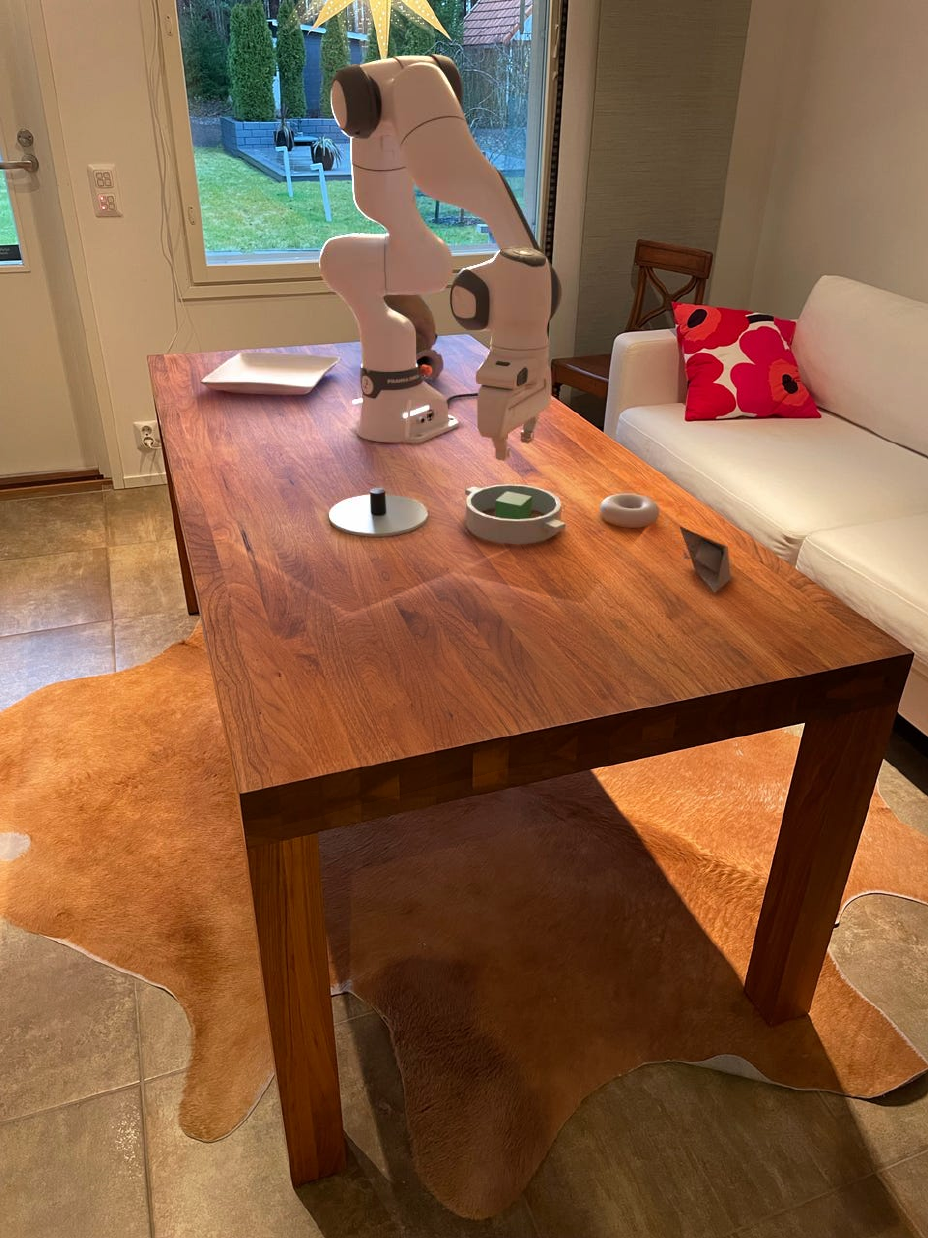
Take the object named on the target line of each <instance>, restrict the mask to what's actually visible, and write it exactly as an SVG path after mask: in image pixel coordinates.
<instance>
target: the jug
mask: <svg viewBox="0 0 928 1238" xmlns="http://www.w3.org/2000/svg"><path fill="white" fill-rule="evenodd" d="M383 299H384V302H385V303H386V305H387V306H388V307H389V308H390V309H392V310H394V311H396V312H398V313H400V314H401V315H403V316H405V317H406V318H408V319H409V320H410V321H411V322H412V324H413V325H414V328H415V331H416V363H417V364H419V365H420V366H422V365H424V364H425V365H427V366H431V368H432V370H433V371H432V373H430V374H431V375H430V376H427V375H425V374H421V375H422V376H425V377H426V378H428V379H430V380H432V381H433V380H436V379H437V378H438V377H439V376H440V374H441V373H442V372H443V371H444V364H445V363H444V359H443V355H442V354H441V353H438V352H437V351H436V350H434V349H432V348H433V346H435V344H436V343H437V341H438V337H439V336H438V334H437V332H436V331H437V330H436V321H435V317H434V315H433V312H432V310H431V307H430V306H429V304H428V303H427V301H426V300H425V299H424V298H423V296H422V295H385V296H383Z"/></svg>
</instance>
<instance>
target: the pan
mask: <svg viewBox="0 0 928 1238" xmlns="http://www.w3.org/2000/svg"><path fill="white" fill-rule="evenodd" d="M464 491H465V492H464V495H465V496H467V497H466V499H465V527H466V529H467V530H468V531H469V532H471V534H473V535H475V536H476V537H479V538H481V539H483V540H486V541H490V542H493V543H498V544H510V545H511V544H512V545H528V544H534V543H535V544H536V543H539V542H543V541H546V540H548V539H551V538H552V537H554V536H555V535H557V534H558V533H559V532H561V531H564V530H566V525H567V524H566V522H563V521H561V520H562V506H563V505H562V502H561V499H560V497H558V496H557V495H556V494H554V492H552V491H549V490H546V489H545V488H542V487H538V486H532V485H527V484H516V483H515V484H514V483H503V484H492V485H488V486H483V487H478V486H476V485H474V486H471V487H468V488H465V490H464ZM507 491H508V492H513V493H518V494H523V495H528V496H532V506H531V511H536V512H539V513H541V514H543V515H539V516H536V517H531V518H529V519H504V518H498V517H495V515H494V516H493V515H489V514H486V513H484V511H488V510H493V509H495V500H497V499H498V498H499V497H500V496H502V495H503V494H504V493H506V492H507Z"/></svg>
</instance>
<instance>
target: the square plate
mask: <svg viewBox="0 0 928 1238" xmlns="http://www.w3.org/2000/svg"><path fill="white" fill-rule="evenodd" d="M340 361H341V357H339V356H328V355H327V356H326V355H319V354H318V355H315V354H305V353H304V354H303V353H287V352H284V353H283V352H237V353H236V354H235V355H234V356H232V357H231V358H229V359H228V360H226V361H225V362H224V363H222V364H221V365H219V366H218V367H217V368H216V369H214V370H213V371H211V372H210V373H208V374H207V375H206V376H204V377H203V378H202V379H201V380H200V384H202V385H203V386H205V387H207V388H208V389H211V390H214V391H225V392H228V393H236V394H251V395H272V396H300V395H307V394H308V393H310V392H311V391H312V390H313V389H314V388H315V387H316V386H317V384H318V383H319V382H320V380H322V379H323V378H324V377H325V376H326V375H327V374H329V373H330V372H331V371H332V370H333V369H334V367H335V366H336V365H337V363H339V362H340Z"/></svg>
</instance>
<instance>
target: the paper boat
mask: <svg viewBox="0 0 928 1238" xmlns="http://www.w3.org/2000/svg"><path fill="white" fill-rule="evenodd" d="M678 527H679V529H680V533H681V535H682V537H683V541H684V544H685V546H686V549H687V552H688V554H689V556H688V554H687V552H686V551H683V557H684V560H691V562H692V565H693V568H694V570H695V572H696V573H697V574H698V575H699V576H700V578H702V580H703V581H704V583H706V584H707V586H708V587H709V588H710V589H711V590H712V592H714V593H715V594H716V593H717V592H718V591H719V590H720V589H722V588H723V587H724V586H725V585H726V584H727V583H728V582H729V581H730V580H731V578H732V577H731V567H730V557H729V547H728V546H726V545H724V544H722V543H720V542H717V541H715V540H713V539H711V538H708V537H706V536H703V535H701V534H699V533H697V532H694V531H693V530H689V529H688V528H686V527H683V526H680V525H679V526H678Z"/></svg>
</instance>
